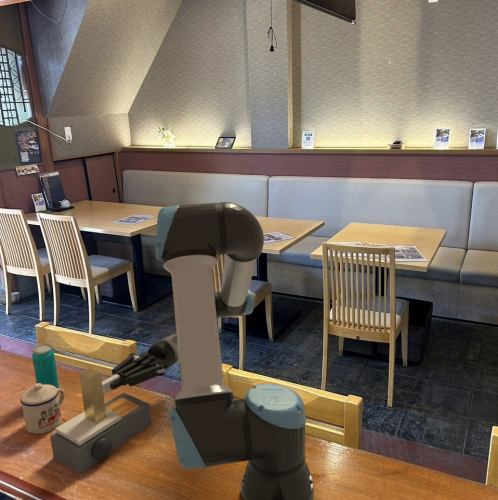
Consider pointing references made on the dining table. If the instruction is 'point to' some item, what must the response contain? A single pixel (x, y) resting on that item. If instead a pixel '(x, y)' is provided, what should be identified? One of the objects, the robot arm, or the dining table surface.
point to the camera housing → (104, 434)
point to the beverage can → (45, 365)
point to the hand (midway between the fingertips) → (97, 391)
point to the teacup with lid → (42, 408)
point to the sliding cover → (89, 411)
